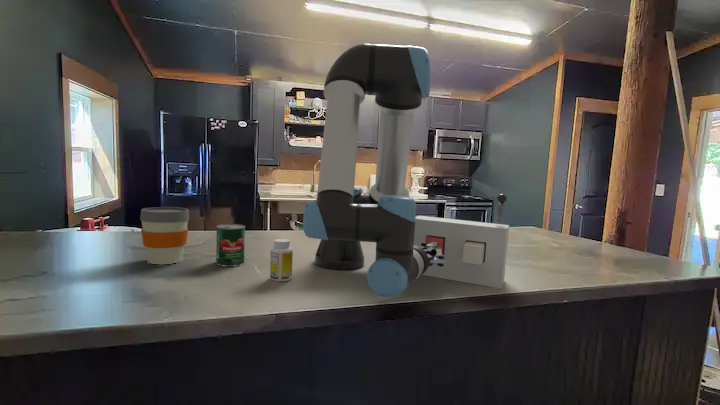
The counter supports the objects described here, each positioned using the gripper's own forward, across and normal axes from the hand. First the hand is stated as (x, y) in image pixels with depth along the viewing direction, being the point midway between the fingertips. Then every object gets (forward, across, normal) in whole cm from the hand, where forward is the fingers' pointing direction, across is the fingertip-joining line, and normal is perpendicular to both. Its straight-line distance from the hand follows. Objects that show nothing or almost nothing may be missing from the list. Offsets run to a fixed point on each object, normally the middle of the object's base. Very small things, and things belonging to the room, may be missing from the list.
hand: (434, 246), depth 108 cm
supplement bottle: (-25, -34, -9) cm, 43 cm away
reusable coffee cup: (-30, -71, -9) cm, 77 cm away
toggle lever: (+5, +16, +7) cm, 18 cm away
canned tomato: (-21, -55, -9) cm, 59 cm away
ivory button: (-1, +11, -2) cm, 11 cm away
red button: (+3, 0, -2) cm, 4 cm away
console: (+4, +5, -9) cm, 11 cm away
